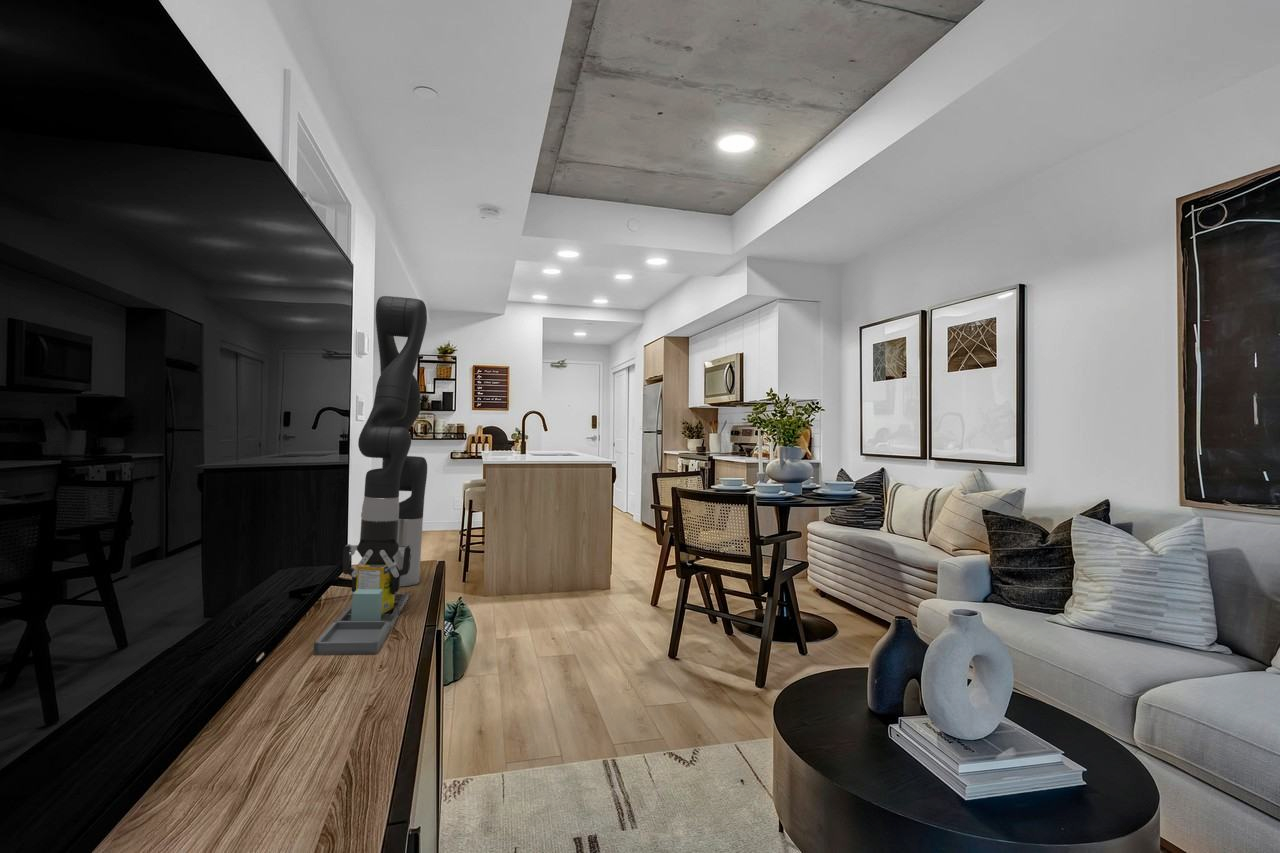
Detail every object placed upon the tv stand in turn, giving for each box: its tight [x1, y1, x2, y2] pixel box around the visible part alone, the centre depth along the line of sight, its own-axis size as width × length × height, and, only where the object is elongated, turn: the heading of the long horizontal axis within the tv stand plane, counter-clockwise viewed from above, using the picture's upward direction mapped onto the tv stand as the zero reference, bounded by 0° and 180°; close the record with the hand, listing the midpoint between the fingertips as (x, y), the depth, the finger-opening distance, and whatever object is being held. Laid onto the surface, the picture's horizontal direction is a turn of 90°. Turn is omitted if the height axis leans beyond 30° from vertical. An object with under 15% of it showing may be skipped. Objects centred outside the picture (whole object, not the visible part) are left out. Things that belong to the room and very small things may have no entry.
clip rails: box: [335, 592, 410, 631], centre depth 138 cm, size 25×11×2 cm, turn 12°
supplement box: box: [356, 563, 395, 614], centre depth 138 cm, size 6×6×11 cm
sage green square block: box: [351, 589, 383, 621], centre depth 130 cm, size 4×5×7 cm
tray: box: [312, 620, 391, 656], centre depth 120 cm, size 14×10×2 cm
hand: (375, 593), depth 138 cm, fingers closed on supplement box, 7 cm apart
